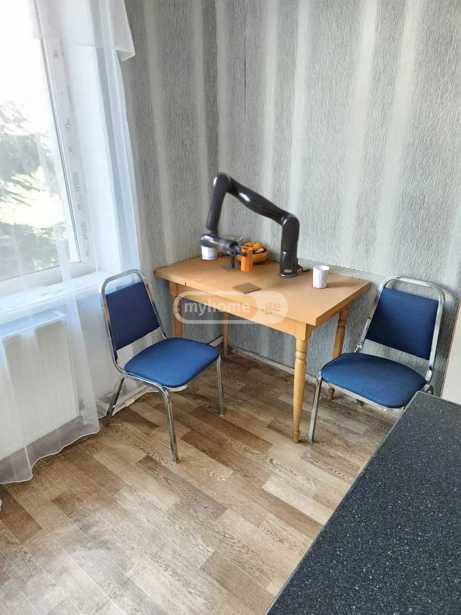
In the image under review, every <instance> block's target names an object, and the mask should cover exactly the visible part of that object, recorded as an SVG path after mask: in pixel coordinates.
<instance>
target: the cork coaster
mask: <svg viewBox="0 0 461 615" xmlns="http://www.w3.org/2000/svg"><path fill="white" fill-rule="evenodd" d="M232 288H233V289H235V290H237V291H238V292H241V293H243V294H248V293H253V292H256V291H259V290H261V288H260V287H259V286H256V285H255V284H252V283H250V282H247V283H243V284H238V285H235V286H232Z"/></svg>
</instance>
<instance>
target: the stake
mask: <svg viewBox="0 0 461 615" xmlns="http://www.w3.org/2000/svg"><path fill="white" fill-rule="evenodd" d="M235 261H236V256H233V255H230V263H226V264H223V267H225V268H226V269H228V270H234V269H241V264H239V263H238V262H235Z"/></svg>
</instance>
